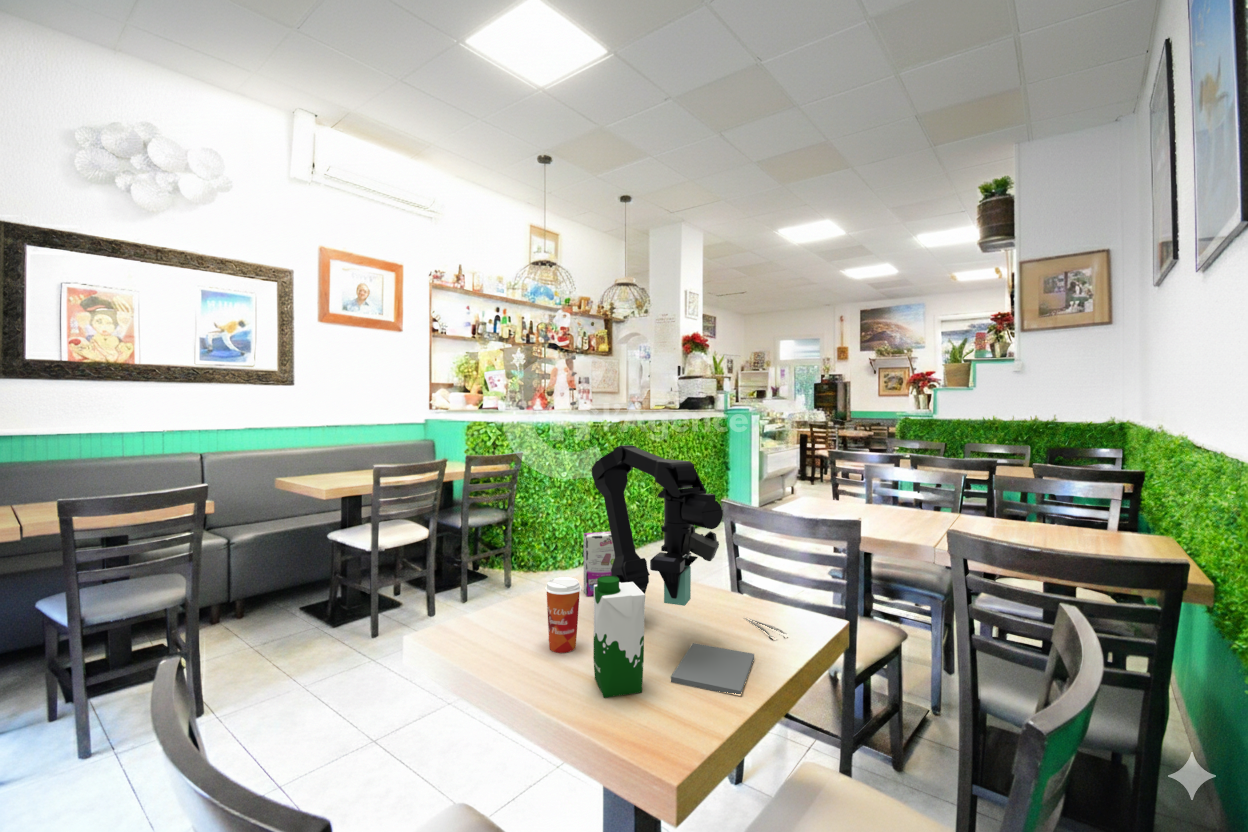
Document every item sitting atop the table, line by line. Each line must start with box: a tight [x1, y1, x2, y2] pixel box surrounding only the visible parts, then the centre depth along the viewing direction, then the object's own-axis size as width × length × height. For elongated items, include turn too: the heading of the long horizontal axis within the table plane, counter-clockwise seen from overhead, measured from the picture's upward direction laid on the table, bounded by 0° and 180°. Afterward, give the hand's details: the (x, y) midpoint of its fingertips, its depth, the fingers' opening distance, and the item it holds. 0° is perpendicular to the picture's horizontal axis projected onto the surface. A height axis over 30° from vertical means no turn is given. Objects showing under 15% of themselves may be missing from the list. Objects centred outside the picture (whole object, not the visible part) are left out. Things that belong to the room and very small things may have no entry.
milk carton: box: [593, 576, 646, 699], centre depth 101 cm, size 9×9×20 cm
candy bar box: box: [583, 531, 615, 597], centre depth 152 cm, size 11×5×16 cm, turn 105°
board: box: [670, 642, 755, 695], centre depth 108 cm, size 13×16×1 cm
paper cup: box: [544, 576, 582, 654], centre depth 117 cm, size 8×8×14 cm
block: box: [663, 565, 692, 607], centre depth 117 cm, size 4×4×7 cm
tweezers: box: [744, 617, 787, 639], centre depth 131 cm, size 17×5×2 cm, turn 25°
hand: (677, 594), depth 117 cm, fingers closed on block, 4 cm apart
